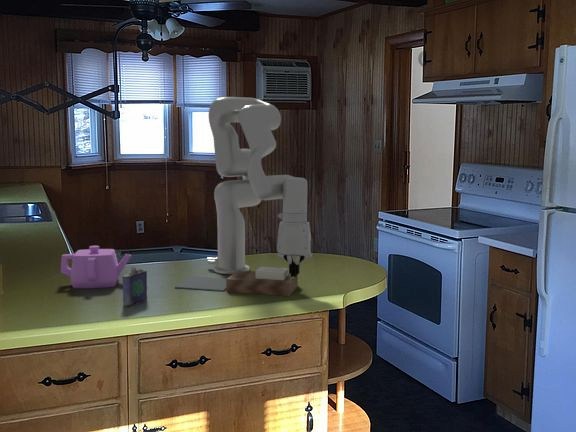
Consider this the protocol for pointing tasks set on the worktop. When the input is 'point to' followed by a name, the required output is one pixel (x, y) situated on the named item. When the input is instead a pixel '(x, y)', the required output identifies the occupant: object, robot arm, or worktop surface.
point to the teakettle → (93, 267)
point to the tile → (271, 273)
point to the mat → (203, 284)
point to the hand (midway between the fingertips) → (294, 275)
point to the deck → (260, 284)
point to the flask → (134, 287)
